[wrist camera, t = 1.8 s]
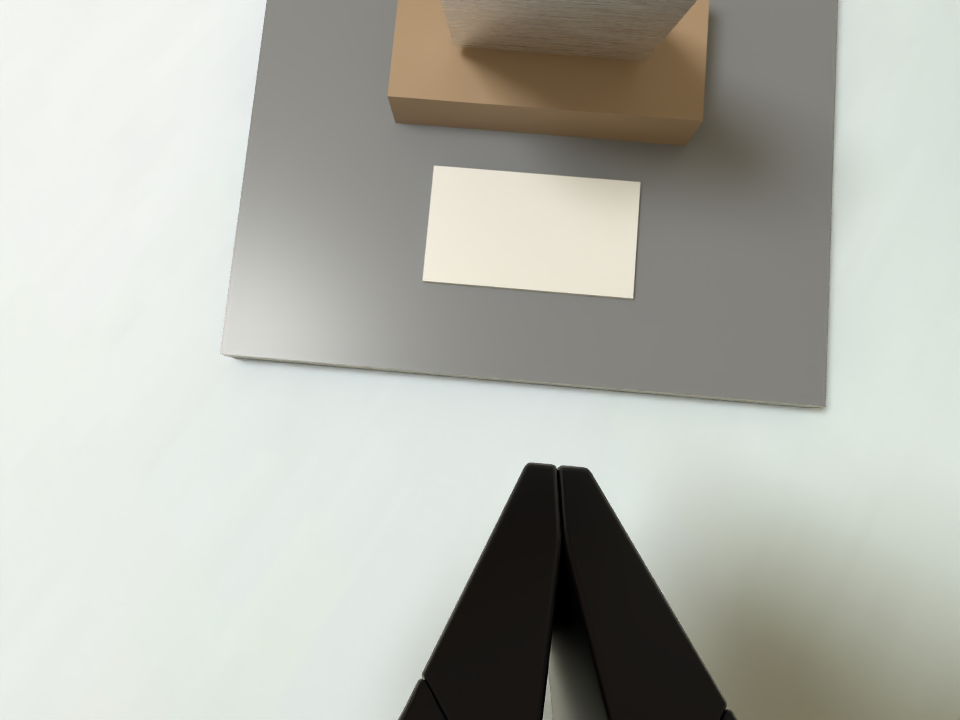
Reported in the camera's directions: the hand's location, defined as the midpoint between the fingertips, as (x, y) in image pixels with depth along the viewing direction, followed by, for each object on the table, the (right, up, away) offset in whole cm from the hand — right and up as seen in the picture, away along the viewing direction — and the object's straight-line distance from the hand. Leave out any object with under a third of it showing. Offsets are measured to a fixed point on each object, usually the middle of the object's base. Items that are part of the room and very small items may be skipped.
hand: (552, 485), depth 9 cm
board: (+1, +10, +15) cm, 18 cm away
